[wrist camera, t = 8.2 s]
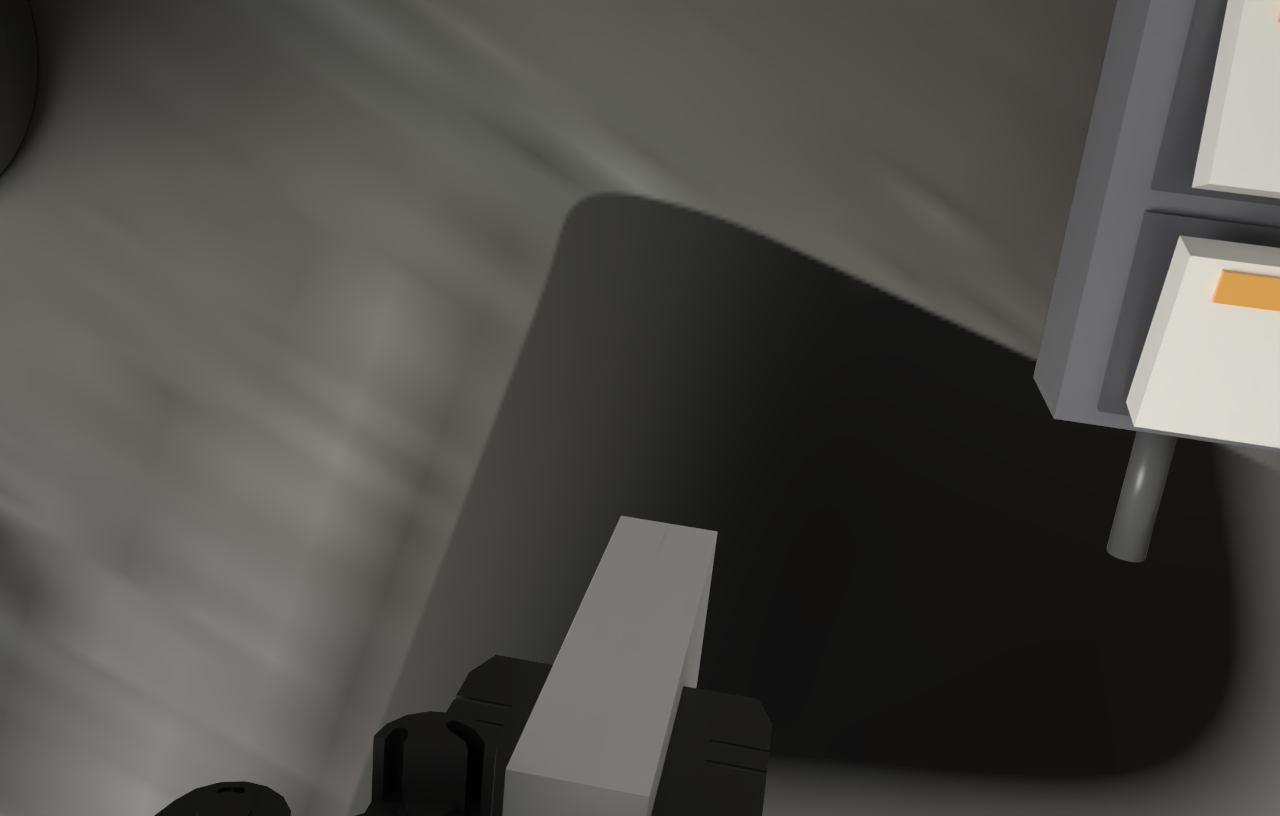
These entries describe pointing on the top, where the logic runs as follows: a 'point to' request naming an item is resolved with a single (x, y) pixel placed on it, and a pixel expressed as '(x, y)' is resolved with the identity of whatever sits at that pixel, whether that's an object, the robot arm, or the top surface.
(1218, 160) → the rocker
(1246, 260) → the rocker
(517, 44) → the top surface
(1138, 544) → the power strip
